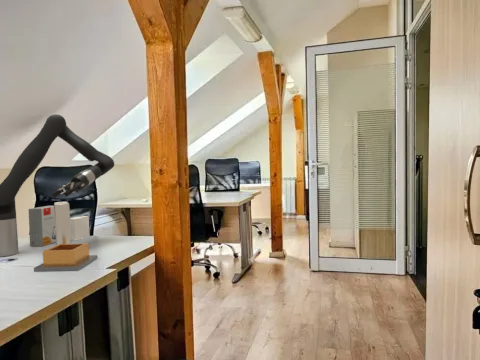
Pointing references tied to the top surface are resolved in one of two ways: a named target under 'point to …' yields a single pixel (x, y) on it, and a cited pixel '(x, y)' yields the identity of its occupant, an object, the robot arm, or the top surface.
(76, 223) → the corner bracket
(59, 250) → the dock
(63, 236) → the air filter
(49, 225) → the hard drive box
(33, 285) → the top surface
